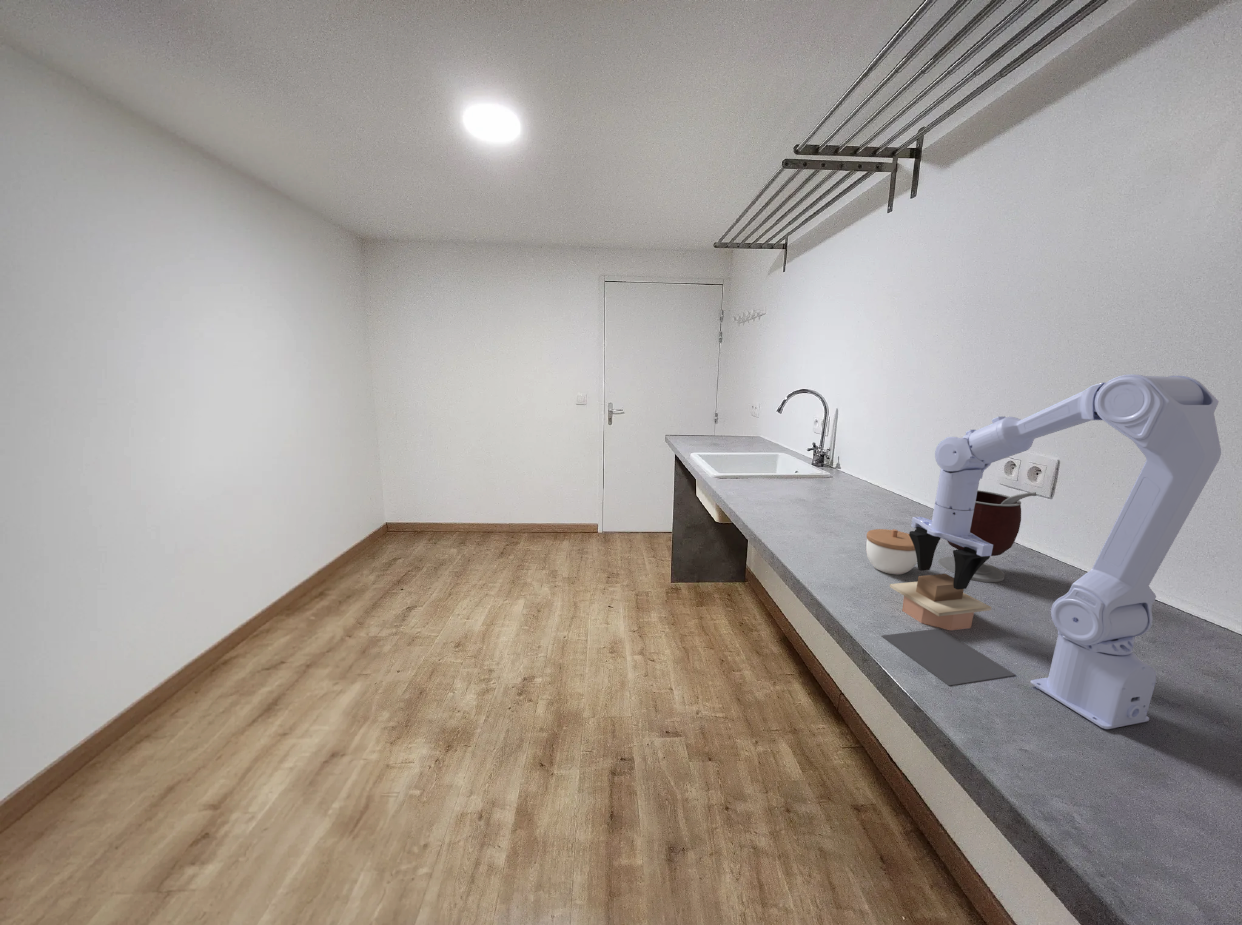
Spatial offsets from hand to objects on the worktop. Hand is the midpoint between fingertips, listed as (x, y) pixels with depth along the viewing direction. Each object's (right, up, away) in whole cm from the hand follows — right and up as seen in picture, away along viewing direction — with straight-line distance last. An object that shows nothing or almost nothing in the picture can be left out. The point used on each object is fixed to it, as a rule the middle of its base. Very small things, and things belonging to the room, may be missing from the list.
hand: (941, 578), depth 89 cm
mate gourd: (+22, -4, +22) cm, 31 cm away
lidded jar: (+2, -3, +21) cm, 22 cm away
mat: (-7, -10, -11) cm, 16 cm away
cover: (0, -4, +1) cm, 4 cm away
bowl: (0, -7, +1) cm, 7 cm away
